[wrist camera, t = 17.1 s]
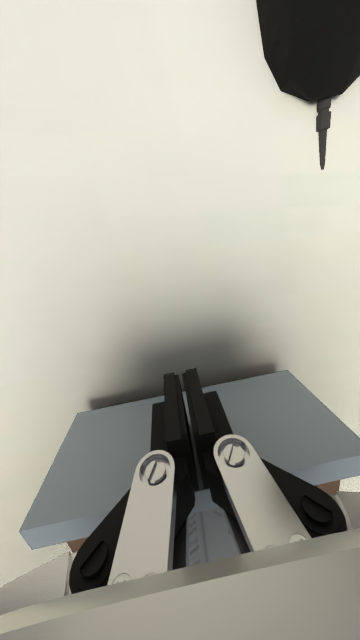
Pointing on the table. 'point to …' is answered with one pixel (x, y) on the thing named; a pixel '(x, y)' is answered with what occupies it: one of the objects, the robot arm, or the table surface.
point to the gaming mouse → (312, 50)
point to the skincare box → (209, 537)
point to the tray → (135, 441)
